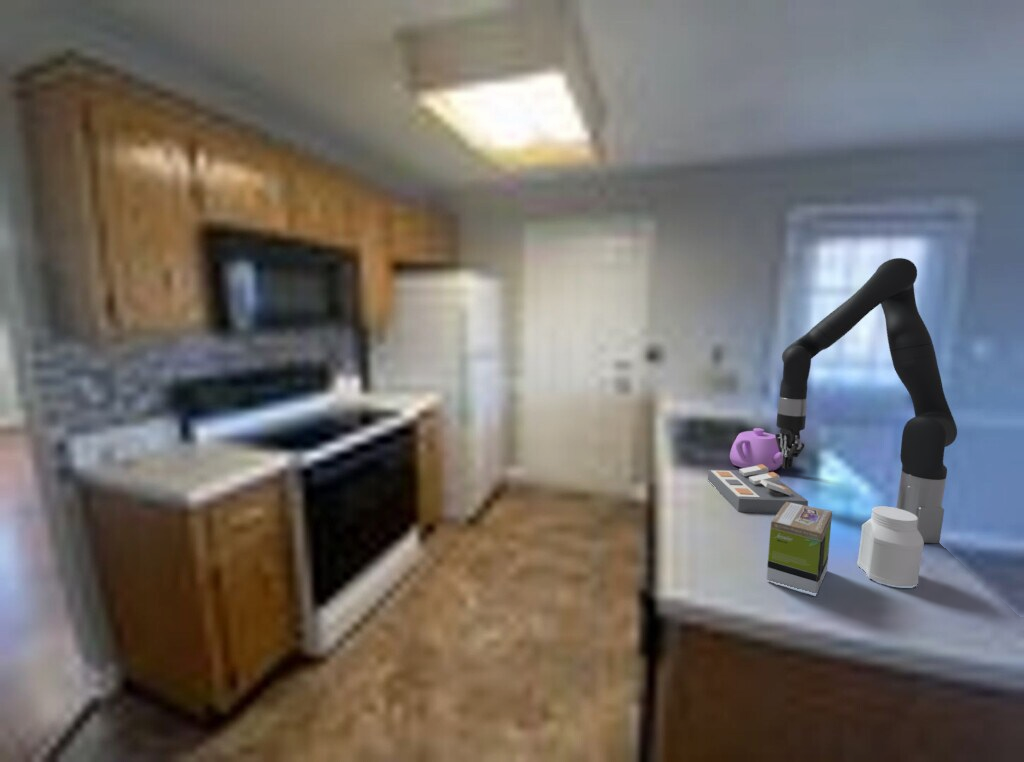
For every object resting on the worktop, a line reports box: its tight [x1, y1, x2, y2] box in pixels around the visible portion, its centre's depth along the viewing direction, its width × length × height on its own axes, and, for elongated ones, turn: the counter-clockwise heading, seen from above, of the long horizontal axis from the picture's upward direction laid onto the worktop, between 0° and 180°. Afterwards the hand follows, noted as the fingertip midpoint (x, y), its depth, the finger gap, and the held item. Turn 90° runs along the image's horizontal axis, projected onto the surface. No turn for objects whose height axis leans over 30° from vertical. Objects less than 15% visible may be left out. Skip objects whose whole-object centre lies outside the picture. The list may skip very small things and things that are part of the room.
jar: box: [856, 505, 925, 586], centre depth 115 cm, size 12×10×15 cm
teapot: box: [729, 427, 783, 472], centre depth 189 cm, size 23×21×15 cm
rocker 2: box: [749, 471, 781, 485], centre depth 163 cm, size 4×8×1 cm, turn 87°
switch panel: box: [707, 469, 809, 514], centre depth 164 cm, size 27×20×5 cm
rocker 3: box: [760, 479, 792, 496], centre depth 155 cm, size 4×8×1 cm, turn 87°
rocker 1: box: [738, 464, 770, 476], centre depth 171 cm, size 4×8×1 cm, turn 87°
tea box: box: [766, 502, 833, 594], centre depth 114 cm, size 15×10×15 cm
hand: (786, 468), depth 154 cm, fingers closed
